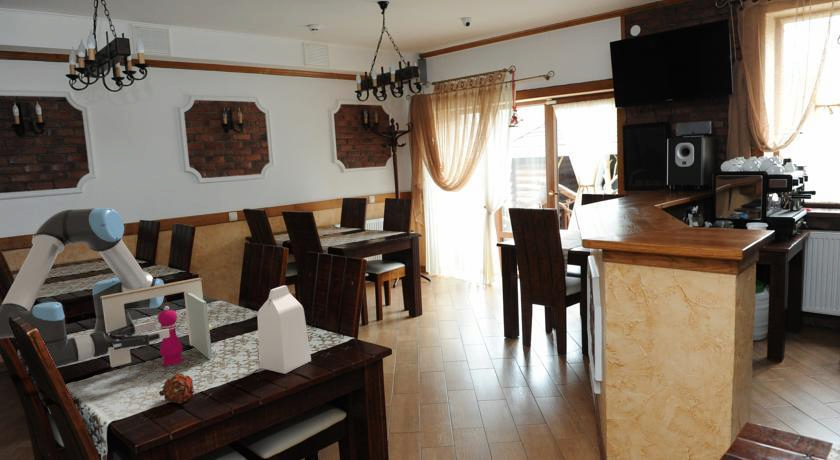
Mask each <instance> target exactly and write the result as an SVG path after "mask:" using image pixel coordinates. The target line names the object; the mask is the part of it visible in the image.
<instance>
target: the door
mask: <svg viewBox="0 0 840 460" xmlns="http://www.w3.org/2000/svg"><path fill="white" fill-rule="evenodd" d="M186 295H187V304H188V313H189V321H190V330H191V339H192V345H193V346H192V347H194V348H195V349H197V351H198V352H200V353H201V354H202V355H204V356H205V357H206V358H207V359H209V360H210V359H212V358H213V352H212V342H211V333H210V332H211V331H212V329H213V327H212V325H211V324H209V322H210V321H209V316H208V315H209V313H208V305H207V301H205V300H204V299H203V300H202V299H201V298H199V297H197V296H195V295H194V294H192V293H190V292H188V293H186Z"/></svg>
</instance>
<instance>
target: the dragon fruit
mask: <svg viewBox="0 0 840 460" xmlns="http://www.w3.org/2000/svg"><path fill="white" fill-rule="evenodd" d="M161 389H162V390H159V392H158V394H159V396H162V397H163V399H164V400H165V401H167V402H169V403H175V404H183V403H185V402H186V401H188V400H189V399H190V398H192V397H193V394H194V393H195V388H194V384H193V378H191V377H190V375H184V373H175V374H174V375H173V376H172V377H169V378H167V379H166V380H165V381H164V383H163V385H162V386H161Z"/></svg>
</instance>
